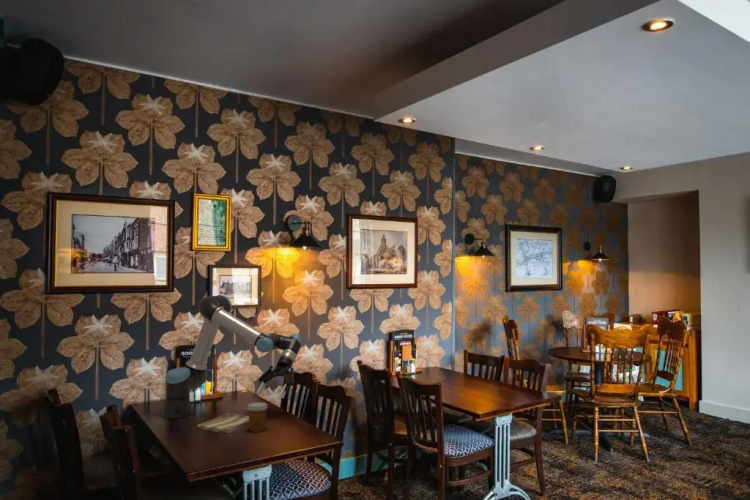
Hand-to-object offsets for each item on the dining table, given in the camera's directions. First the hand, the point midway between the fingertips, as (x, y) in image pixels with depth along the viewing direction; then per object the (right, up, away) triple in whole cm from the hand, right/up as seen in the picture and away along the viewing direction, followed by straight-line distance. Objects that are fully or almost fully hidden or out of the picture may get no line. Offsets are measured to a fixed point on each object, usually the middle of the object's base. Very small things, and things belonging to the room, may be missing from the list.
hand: (269, 395), depth 252 cm
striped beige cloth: (-20, -14, -2) cm, 24 cm away
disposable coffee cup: (-4, -14, -10) cm, 17 cm away
